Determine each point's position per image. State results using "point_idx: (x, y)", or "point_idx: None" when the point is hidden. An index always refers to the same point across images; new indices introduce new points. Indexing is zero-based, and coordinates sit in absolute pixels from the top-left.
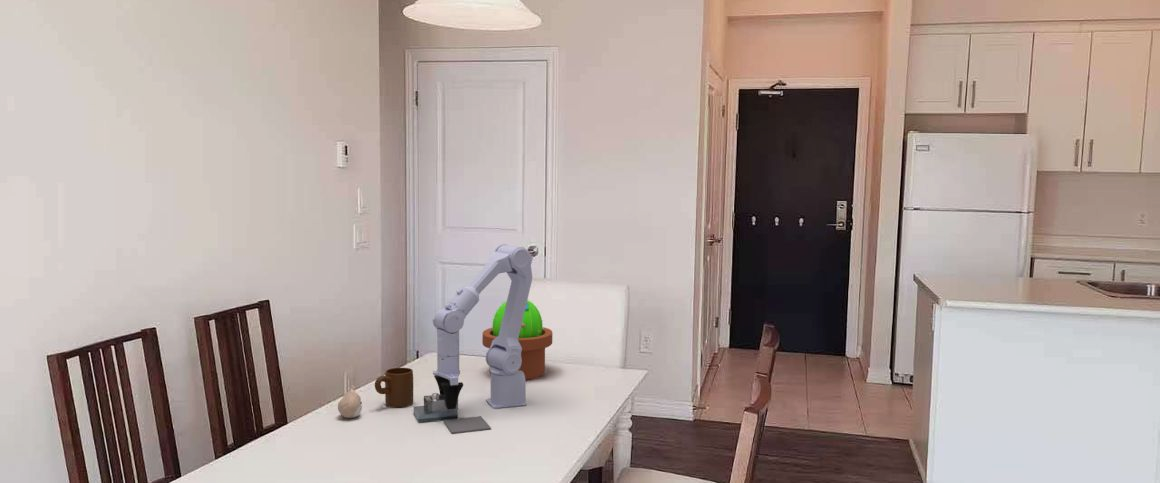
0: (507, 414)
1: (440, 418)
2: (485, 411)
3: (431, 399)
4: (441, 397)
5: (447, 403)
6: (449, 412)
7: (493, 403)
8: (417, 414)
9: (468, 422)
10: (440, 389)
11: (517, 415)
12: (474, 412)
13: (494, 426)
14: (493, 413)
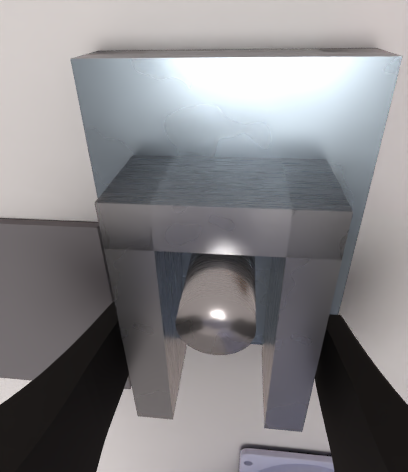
0: (151, 452)
1: None
2: (221, 416)
3: (281, 257)
4: (271, 339)
5: (86, 333)
6: None
7: (283, 467)
8: (159, 56)
9: (38, 326)
10: (356, 402)
11: (130, 467)
12: (224, 383)
13: (3, 385)
14: (180, 427)
